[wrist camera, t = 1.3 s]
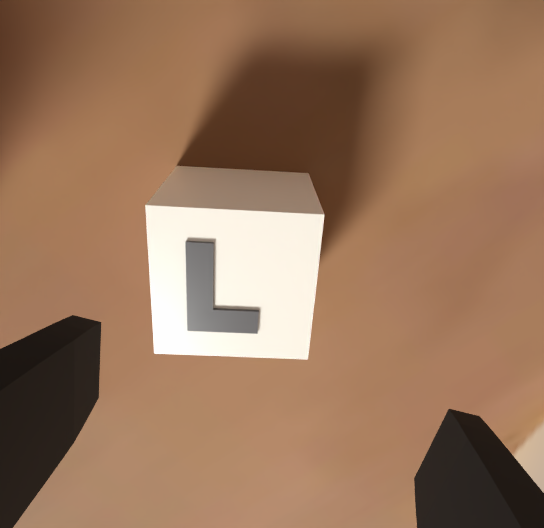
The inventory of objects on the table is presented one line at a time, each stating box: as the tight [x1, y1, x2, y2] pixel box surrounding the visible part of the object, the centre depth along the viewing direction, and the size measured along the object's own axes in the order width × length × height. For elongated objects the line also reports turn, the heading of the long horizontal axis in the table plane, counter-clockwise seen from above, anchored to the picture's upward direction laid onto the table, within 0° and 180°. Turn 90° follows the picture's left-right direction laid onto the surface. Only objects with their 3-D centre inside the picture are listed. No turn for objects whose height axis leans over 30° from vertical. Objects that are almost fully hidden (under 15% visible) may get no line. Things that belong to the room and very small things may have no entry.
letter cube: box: [145, 166, 325, 359], centre depth 16 cm, size 5×5×5 cm
